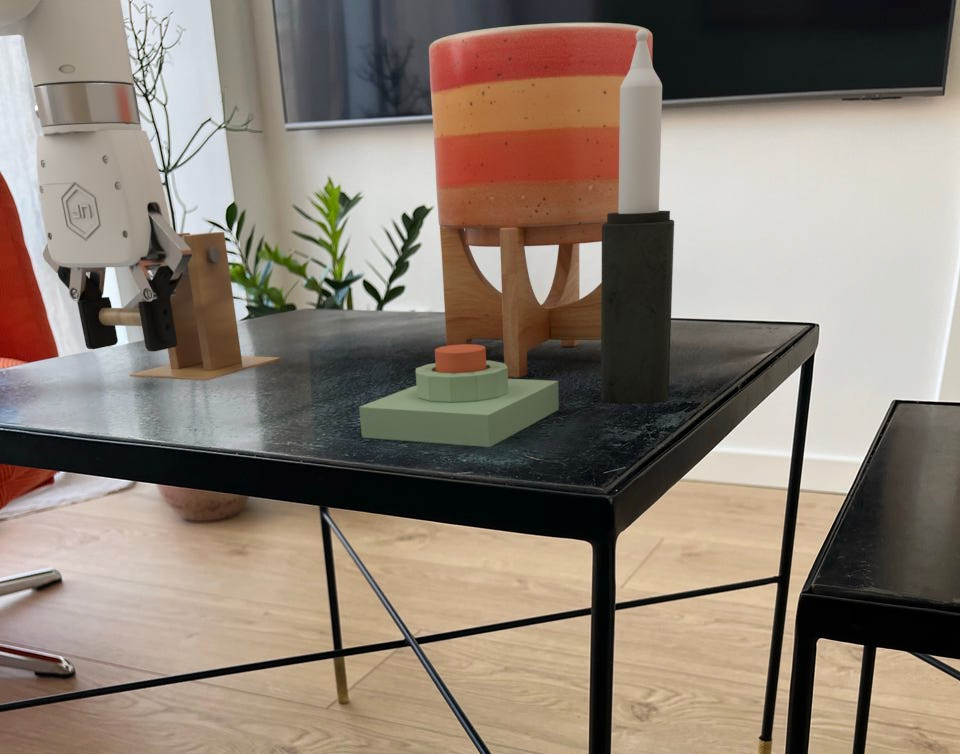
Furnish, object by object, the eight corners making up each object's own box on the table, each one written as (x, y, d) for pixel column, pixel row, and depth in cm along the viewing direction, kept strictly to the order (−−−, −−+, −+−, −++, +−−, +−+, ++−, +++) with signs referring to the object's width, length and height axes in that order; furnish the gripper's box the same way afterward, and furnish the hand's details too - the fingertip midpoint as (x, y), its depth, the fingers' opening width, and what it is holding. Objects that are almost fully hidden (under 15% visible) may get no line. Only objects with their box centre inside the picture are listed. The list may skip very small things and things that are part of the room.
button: (472, 379, 70) (471, 353, 69) (427, 376, 72) (425, 351, 71) (494, 369, 73) (494, 344, 72) (450, 368, 75) (449, 343, 74)
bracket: (207, 391, 90) (183, 237, 85) (131, 387, 94) (104, 239, 89) (281, 370, 99) (264, 229, 94) (209, 366, 103) (189, 231, 98)
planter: (623, 381, 86) (628, 12, 75) (409, 376, 93) (384, 37, 81) (667, 344, 103) (677, 39, 92) (484, 342, 109) (472, 58, 98)
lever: (150, 334, 86) (137, 309, 84) (106, 333, 88) (92, 308, 86) (225, 259, 93) (214, 234, 91) (182, 259, 95) (171, 235, 93)
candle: (605, 390, 82) (608, 36, 72) (669, 390, 81) (681, 30, 71) (599, 403, 78) (601, 27, 68) (666, 403, 77) (678, 21, 67)
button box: (489, 447, 67) (487, 386, 65) (361, 438, 71) (356, 380, 69) (558, 410, 77) (558, 356, 75) (442, 403, 81) (439, 352, 79)
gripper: (-26, 120, 81) (26, 352, 88) (138, 103, 73) (179, 358, 81) (48, 122, 87) (91, 339, 94) (206, 107, 79) (239, 343, 87)
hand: (131, 345), depth 87 cm, fingers open, 6 cm apart
